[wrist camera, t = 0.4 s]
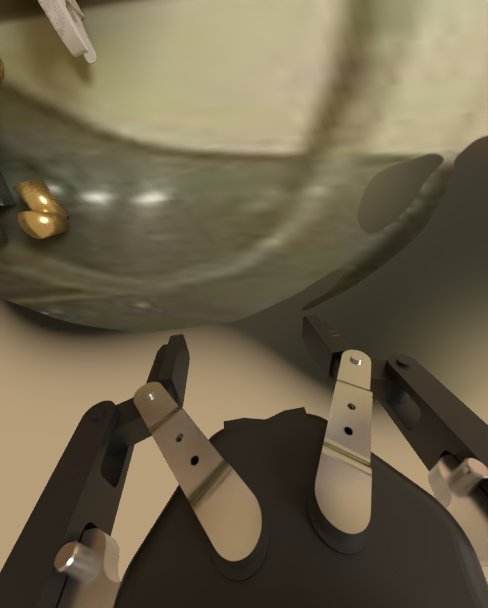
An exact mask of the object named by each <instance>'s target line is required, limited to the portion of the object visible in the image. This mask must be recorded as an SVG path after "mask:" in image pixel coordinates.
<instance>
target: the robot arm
mask: <svg viewBox="0 0 488 608" xmlns="http://www.w3.org/2000/svg"><path fill="white" fill-rule="evenodd" d="M302 339H303V342H304V344H305V346H306V348H307V350H308V351H309V353H310V355H311V356H312V358H313V360H314V361H315V363H316V364H317V366H318V368H319V370H320V371H321V373H322V375H323V376H324V378H325V380H326V382H332V381H334V382H335V384H336V386H335V391H334V396H333V400H332V405H331V410H330V415H329V419H328V421H327V420H326V419H324V418H321V417H319V416H316V415H312V414H307V413H306V411H305V409H304V407H302V408H296V409H291V410H285V411H283V412H281V413H279V414H276V415H275V416H272V417H270V418H268V419H265V420H262V419H251V418H241V419H235V420H230V421H224V429H222V430H220V431H219V432H217V433H216V434H214V435H213V436H212V437H211V438H210V439H209V440H208V439H207V438H206V437H205V435H204V434H203V433H202V432H201V430H200V429H199V428H198V427H197V425H196V424H195V423H194V422H193V420H192V419H191V418H190V416H189V415H188V414H187V413H186V411H185V410H184V409H183V408H182V407H183V402H184V395H185V388H186V381H187V374H188V367H189V359H190V358H189V351H188V348H187V345H186V341H185V338H184V335H183V334H180V335H174V336H171V337H170V339H169V342H168V344H166V345H163V346H162V347H161V348H160V349H159V351H158V352H157V355H156V359H155V360H154V364H153V366H152V369H151V371H150V374H149V377H148V380H147V383H146V384H145V385H144V386H142V387H141V388H139V389H138V390H137V392H136V393H135V395H134V397H133V398H131V399H129V400H127V401H124V402H122V403H120V404H117V405H115V404H114V403H113V402H112V401H103V402H100V403H98V404H96V405H94V406H93V407H91V408H90V409H89V410H88V411H87V412H86V413H85V414H84V415H83V417H82V419H81V421H80V423H79V424H78V426H77V428H76V430H75V432H74V434H73V436H72V438H71V440H70V442H69V443H68V445H67V447H66V449H65V451H64V453H63V455H62V457H61V458H60V460H59V462H58V464H57V466H56V468H55V470H54V472H53V474H52V476H51V477H50V480H49V481H48V483H47V485H46V487H45V489H44V491H43V493H42V495H41V496H40V498H39V500H38V502H37V504H36V506H35V508H34V510H33V511H32V513H31V515H30V517H29V519H28V521H27V523H26V525H25V527H24V529H23V530H22V533H21V534H20V536H19V538H18V540H17V542H16V544H15V545H14V547H13V549H12V552H11V553H10V555H9V557H8V559H7V561H6V563H5V564H4V566H3V568H2V570H1V572H0V608H488V584H487V581H486V579H485V576H484V573H483V570H482V567H487V566H488V425H487V424H486V423H485V422H484V421H482V420H481V419H480V418H479V417H478V416H477V415H476V414H475V413H474V412H472V411H471V410H470V409H469V408H468V407H467V406H466V405H465V404H464V403H463V402H461V401H460V400H459V399H458V398H457V397H456V396H455V395H454V394H453V393H451V392H450V391H449V390H448V389H447V388H446V387H445V386H444V385H443V384H442V383H440V382H439V381H438V380H437V379H436V378H435V377H434V376H433V375H431V374H430V373H429V372H428V371H427V370H426V369H425V368H424V367H422V365H420V364H419V363H418V362H417V361H416V360H415V359H413V358H411V357H409V356H407V355H404V354H397V353H394V354H390V355H389V356H388V358H387V360H376V359H370V358H369V357H368V356H367V355H366V354H364V353H362V352H360V351H357V350H353V349H352V348H351V347H350V346H349V345H348V343H347V342H346V341H345V340H344V339H343V338H342V337H341V336H340V335H339V333H338V332H337V331H336V330H335V329H334V327H333V326H332V325H330V324H329V323H327V322H325V321H320V319H319V318H318V317H317V316H316V315H311V316H305V317H303V327H302ZM408 395H409V396H410V397H411V398H410V397H409V396H408ZM372 399H377V400H379V402H380V403H381V405H382V406H383V407H384V409H385V410H386V412H387V413H388V414H389V416H390V417H391V419H392V420H393V421H394V423H395V424H396V426H397V427H398V428H399V430H400V431H401V433H402V434H403V435H404V437H405V438H406V439H407V441H408V442H409V444H410V445H411V446H412V448H413V449H414V451H415V452H416V453H417V455H418V456H419V458H420V459H421V460H422V462H423V463H424V465H425V466H426V467H427V469H428V470H429V474H428V480H429V484H430V486H431V488H432V490H433V492H434V496H435V498H436V499H435V498H434V497H433V496H432V495H430V494H429V493H428V492H427V491H425V490H424V489H422V488H421V487H420V486H418V485H417V484H415V483H414V482H413V481H411V480H410V479H408V478H407V477H406V476H404V475H403V474H402V473H400V472H399V471H397V470H396V469H395V468H393V467H392V466H390V465H389V464H388V463H386V462H385V461H383V460H382V459H380V458H379V457H378V456H376V455H375V454H374V453H372V452H371V425H372V423H371V422H372ZM414 402H415V403H416V404H417V405H416V404H415V403H414ZM150 436H153V438H154V440H155V441H156V443H157V445H158V447H159V449H160V450H161V452H162V454H163V456H164V458H165V460H166V461H167V463H168V465H169V467H170V468H171V470H172V472H173V474H174V475H175V477H176V479H177V481H178V483H179V485H178V487H177V489H176V490H175V492H174V494H173V495H172V497H171V498H170V500H169V502H168V503H167V505H166V506H165V508H164V509H163V511H162V512H161V514H160V516H159V517H158V519H157V520H156V522H155V524H154V525H153V527H152V528H151V530H150V532H149V533H148V535H147V536H146V538H145V540H144V541H143V543H142V544H141V546H140V548H139V549H138V551H137V552H136V554H135V555H134V557H133V559H132V561H131V562H130V564H129V566H128V568H127V570H126V572H125V574H124V576H123V579H122V581H121V582H120V579H119V576H118V560H119V546H118V544H117V542H116V541H115V540H114V539H113V538H112V537H110V536H111V532H112V529H113V524H114V521H115V517H116V513H117V509H118V506H119V502H120V498H121V494H122V490H123V487H124V483H125V479H126V475H127V471H128V468H129V463H130V460H131V456H132V452H133V449H134V445H135V444H136V443H138V442H140V441H142V440H144V439H146V438H148V437H150Z"/></svg>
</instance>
